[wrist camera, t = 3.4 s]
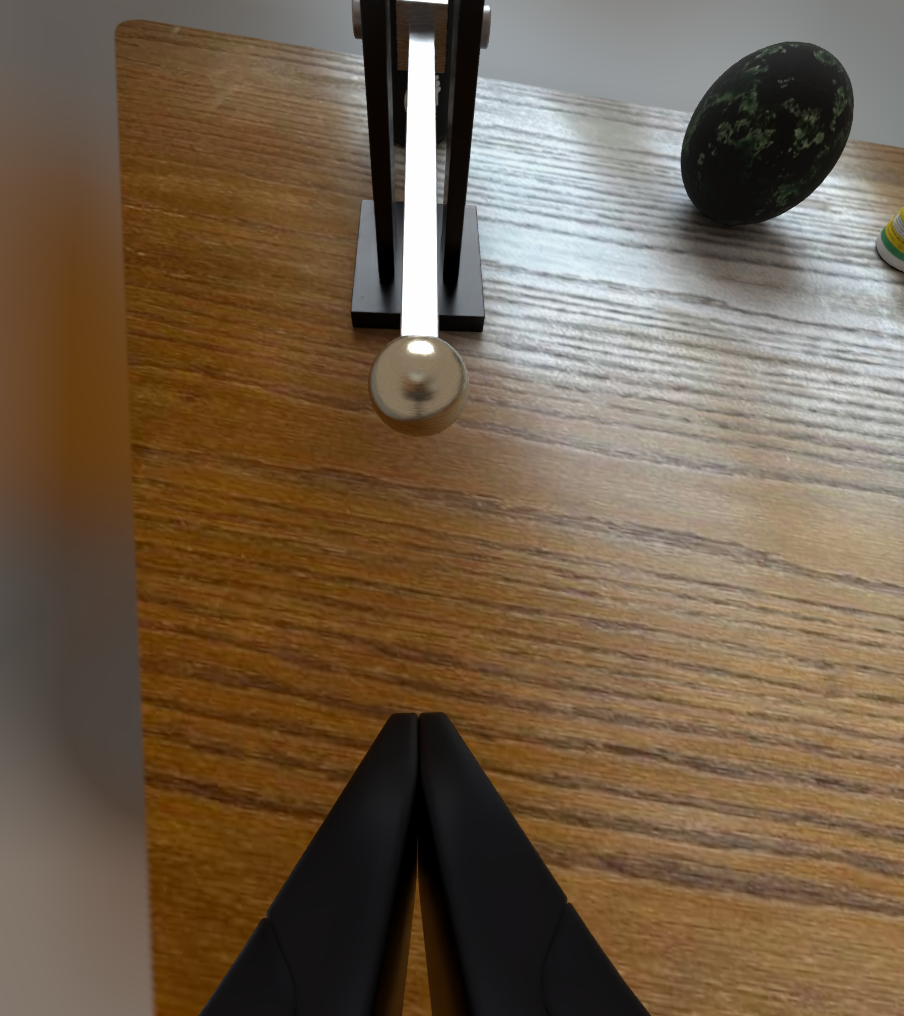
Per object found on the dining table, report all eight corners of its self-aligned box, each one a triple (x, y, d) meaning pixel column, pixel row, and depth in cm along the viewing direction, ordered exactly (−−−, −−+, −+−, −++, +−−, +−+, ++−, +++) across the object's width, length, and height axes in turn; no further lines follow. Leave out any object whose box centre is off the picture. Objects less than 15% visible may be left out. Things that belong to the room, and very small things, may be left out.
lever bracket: (482, 332, 31) (531, 31, 18) (352, 327, 30) (309, 13, 18) (474, 222, 36) (508, -73, 23) (363, 216, 35) (335, -90, 23)
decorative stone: (808, 253, 37) (932, 92, 28) (683, 256, 36) (772, 90, 27) (753, 175, 42) (845, 15, 33) (640, 176, 40) (704, 10, 31)
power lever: (465, 456, 15) (476, 398, 12) (369, 454, 14) (360, 394, 12) (450, 47, 24) (455, -34, 22) (392, 43, 24) (389, -40, 21)
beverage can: (469, 130, 42) (488, -88, 31) (419, 161, 39) (422, -65, 28) (408, 100, 43) (406, -117, 33) (357, 129, 40) (337, -97, 30)
